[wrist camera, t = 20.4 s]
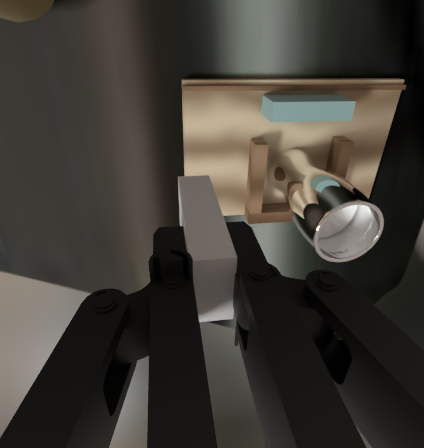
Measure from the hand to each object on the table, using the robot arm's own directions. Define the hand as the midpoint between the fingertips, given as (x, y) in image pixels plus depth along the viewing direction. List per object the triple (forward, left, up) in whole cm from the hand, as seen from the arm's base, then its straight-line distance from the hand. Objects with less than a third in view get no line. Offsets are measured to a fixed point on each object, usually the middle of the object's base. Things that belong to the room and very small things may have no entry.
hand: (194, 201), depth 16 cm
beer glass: (+8, +15, -23) cm, 29 cm away
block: (0, +14, -23) cm, 27 cm away
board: (+6, +14, -24) cm, 29 cm away
